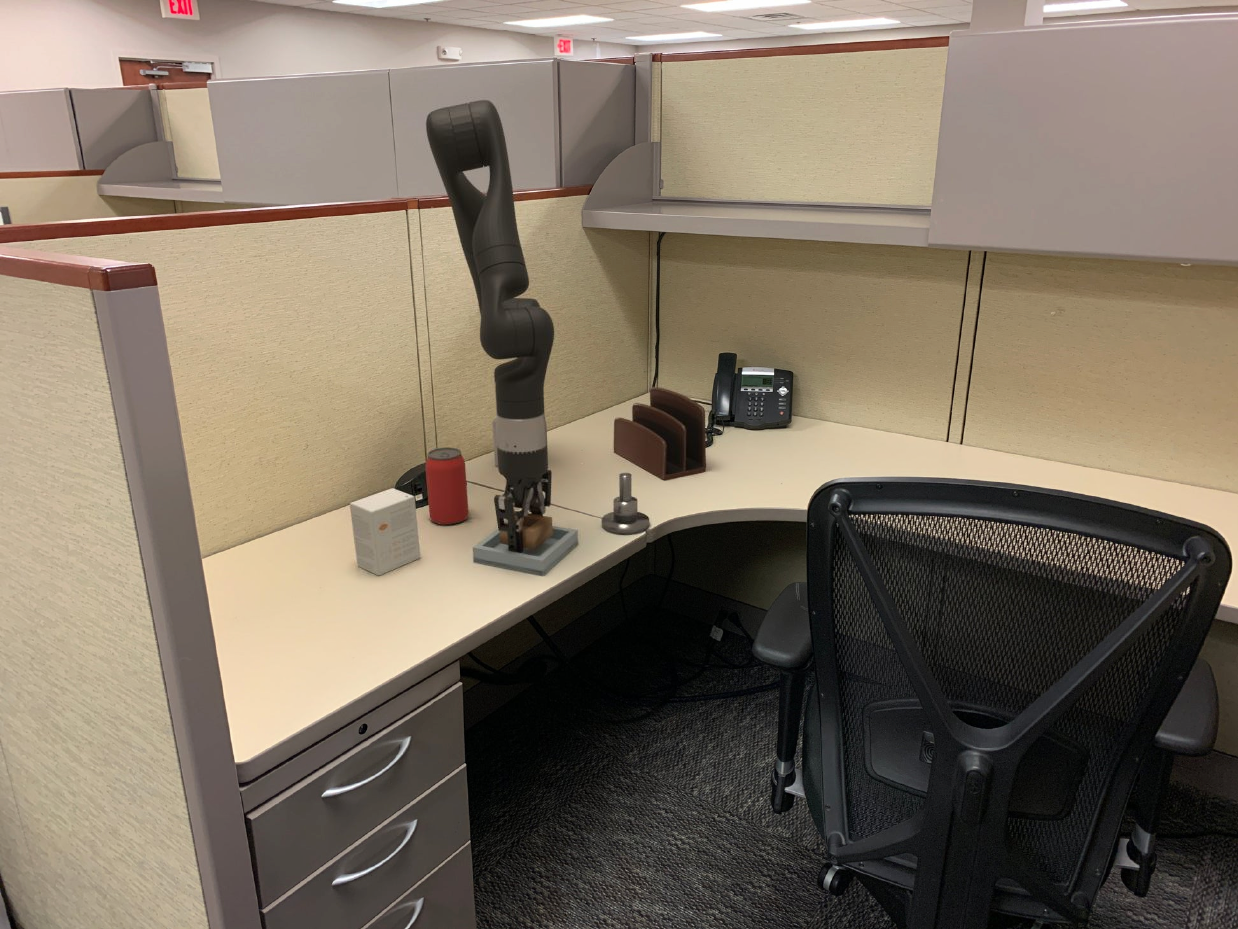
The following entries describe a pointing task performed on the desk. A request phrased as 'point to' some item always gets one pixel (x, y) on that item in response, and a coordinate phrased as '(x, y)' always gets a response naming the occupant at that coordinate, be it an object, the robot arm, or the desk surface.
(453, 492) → the beer can
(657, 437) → the letter holder
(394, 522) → the small box
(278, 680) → the desk surface
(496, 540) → the tray
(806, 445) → the desk surface
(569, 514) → the desk surface
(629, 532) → the stepped metal shaft
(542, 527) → the wooden block
